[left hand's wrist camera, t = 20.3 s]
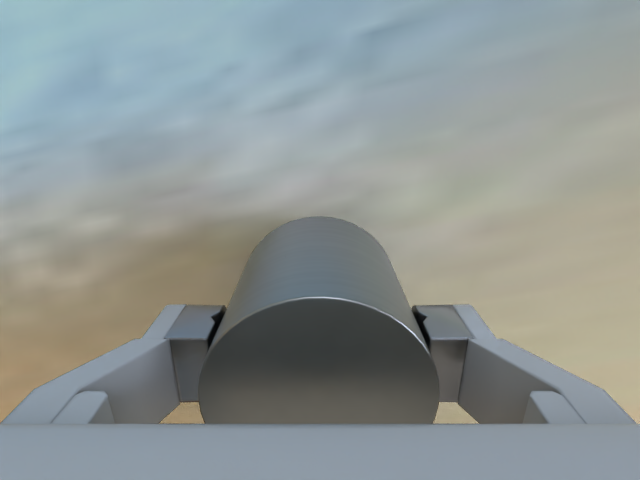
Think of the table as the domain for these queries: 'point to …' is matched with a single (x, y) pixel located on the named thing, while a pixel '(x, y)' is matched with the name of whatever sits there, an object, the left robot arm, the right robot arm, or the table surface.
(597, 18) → the table surface
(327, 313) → the can
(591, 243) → the table surface
